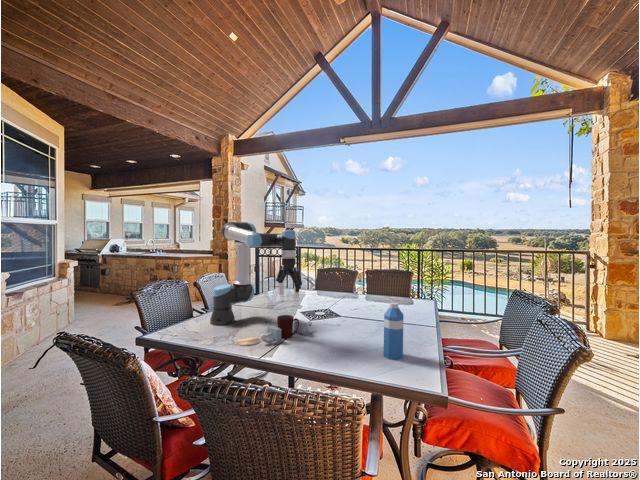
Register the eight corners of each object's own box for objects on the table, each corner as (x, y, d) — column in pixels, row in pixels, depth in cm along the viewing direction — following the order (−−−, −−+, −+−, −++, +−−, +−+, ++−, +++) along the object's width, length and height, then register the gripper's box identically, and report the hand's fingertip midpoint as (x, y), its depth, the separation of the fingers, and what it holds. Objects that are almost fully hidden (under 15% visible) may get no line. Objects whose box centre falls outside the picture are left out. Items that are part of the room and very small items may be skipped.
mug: (300, 334, 170) (300, 315, 170) (297, 340, 161) (297, 319, 161) (279, 333, 171) (279, 314, 171) (275, 339, 162) (275, 318, 162)
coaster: (232, 341, 158) (232, 340, 158) (252, 336, 167) (252, 335, 167) (244, 347, 150) (244, 346, 150) (264, 342, 158) (264, 341, 158)
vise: (256, 341, 158) (256, 328, 158) (305, 328, 181) (305, 317, 181) (267, 347, 151) (267, 333, 151) (316, 332, 174) (316, 320, 174)
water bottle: (380, 352, 146) (381, 301, 145) (399, 351, 146) (400, 301, 146) (386, 360, 136) (387, 305, 136) (406, 359, 137) (407, 305, 137)
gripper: (270, 256, 172) (270, 293, 172) (297, 259, 154) (297, 300, 154) (280, 256, 177) (280, 292, 177) (308, 258, 159) (308, 298, 159)
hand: (288, 296), depth 166 cm, fingers open, 13 cm apart
